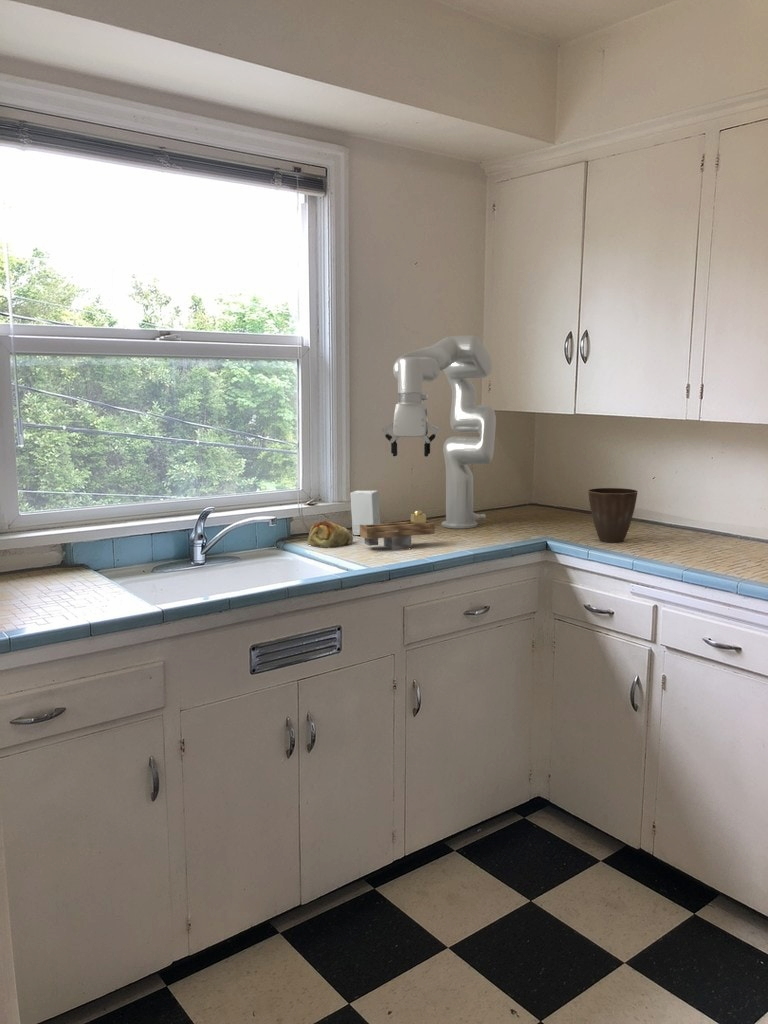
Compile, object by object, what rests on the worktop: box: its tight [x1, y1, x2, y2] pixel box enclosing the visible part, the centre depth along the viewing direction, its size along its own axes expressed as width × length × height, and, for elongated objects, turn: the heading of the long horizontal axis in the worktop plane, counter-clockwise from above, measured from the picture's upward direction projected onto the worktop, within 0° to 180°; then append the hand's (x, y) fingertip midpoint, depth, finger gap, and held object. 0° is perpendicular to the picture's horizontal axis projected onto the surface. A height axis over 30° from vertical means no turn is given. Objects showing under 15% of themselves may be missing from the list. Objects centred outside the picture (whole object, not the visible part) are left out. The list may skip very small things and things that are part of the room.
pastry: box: [306, 520, 354, 549], centre depth 256 cm, size 14×12×8 cm
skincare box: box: [349, 489, 381, 535], centre depth 271 cm, size 8×6×15 cm
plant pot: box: [587, 487, 639, 544], centre depth 256 cm, size 15×15×16 cm
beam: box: [359, 519, 436, 551], centre depth 250 cm, size 22×8×7 cm, turn 110°
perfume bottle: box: [410, 510, 427, 524], centre depth 251 cm, size 4×3×5 cm
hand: (410, 456), depth 246 cm, fingers open, 9 cm apart
